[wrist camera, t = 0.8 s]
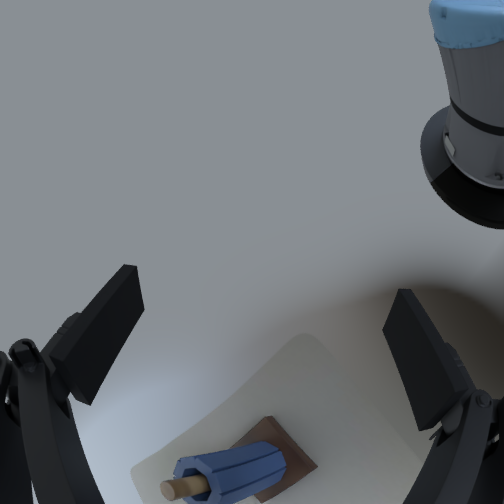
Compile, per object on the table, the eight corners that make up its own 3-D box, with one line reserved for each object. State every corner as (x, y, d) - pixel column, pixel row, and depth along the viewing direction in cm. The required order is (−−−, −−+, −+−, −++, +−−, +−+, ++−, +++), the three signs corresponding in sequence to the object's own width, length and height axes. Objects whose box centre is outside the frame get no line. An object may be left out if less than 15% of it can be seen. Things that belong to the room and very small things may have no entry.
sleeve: (275, 436, 26) (208, 453, 18) (292, 478, 22) (229, 511, 14) (237, 447, 27) (167, 460, 19) (251, 486, 24) (184, 510, 16)
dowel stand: (271, 415, 29) (166, 426, 17) (318, 466, 22) (226, 518, 11) (229, 452, 29) (127, 466, 18) (267, 500, 23) (170, 540, 11)
